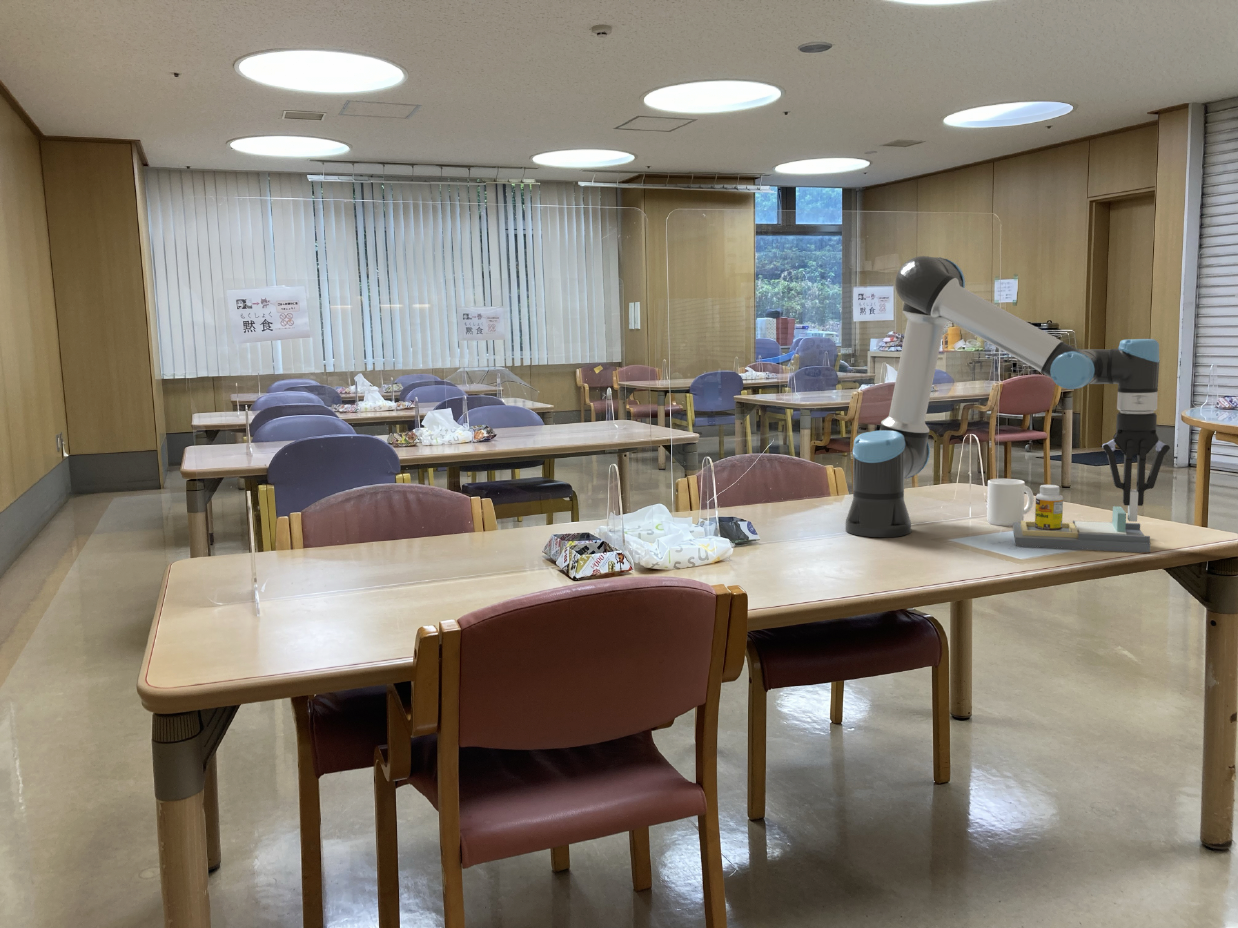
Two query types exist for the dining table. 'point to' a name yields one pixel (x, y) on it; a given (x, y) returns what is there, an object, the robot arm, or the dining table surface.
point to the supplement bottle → (1049, 509)
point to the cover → (1105, 524)
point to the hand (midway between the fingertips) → (1132, 520)
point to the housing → (1080, 538)
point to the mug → (1007, 501)
